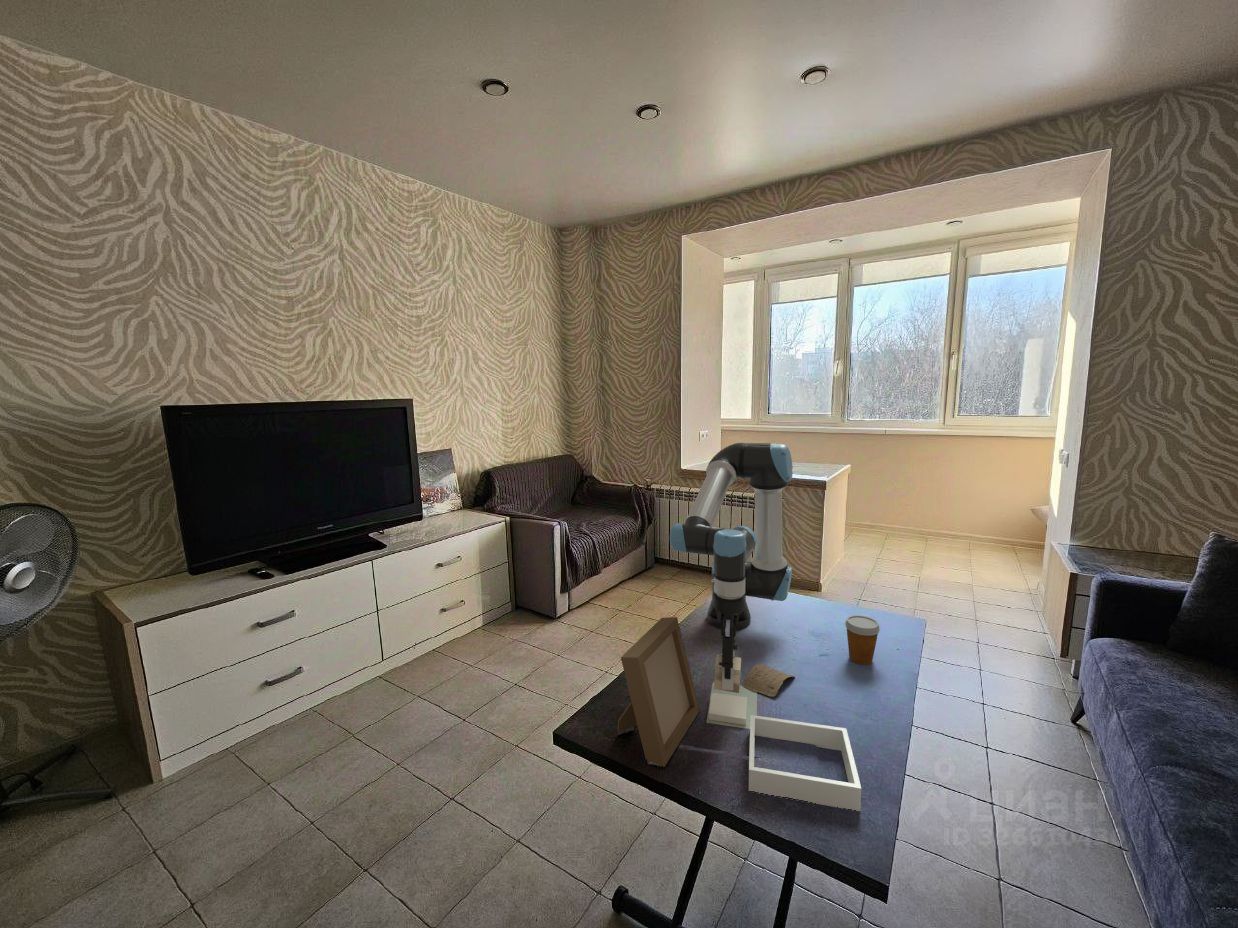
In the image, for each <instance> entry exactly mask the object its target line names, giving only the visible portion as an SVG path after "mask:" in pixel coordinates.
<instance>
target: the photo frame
mask: <svg viewBox="0 0 1238 928" xmlns="http://www.w3.org/2000/svg"><path fill="white" fill-rule="evenodd" d="M620 660H621V665H622V668H623V673H624V676H625V677H624V678H625V680H626V684H627V689H628V693H629V697H630V700H631V701H630V702H629V704H628V705H627V707H626V708H625V710H623V713H622V714H621V715H620V717H619V718H618V720H617V731H618V732H619V731H622V730H626V729H628V728H631V727H634V726H636V727H637V729H638V733H639V737H640V741H641V745H642V749H643V753H644V757H645V760H646V759H647V760H649V761H651V762H654V763H656V764H659V765H660V766H659V767H662V766H663V767H662V768H665V767H666V765H667V764H668V762H669V760H670V759H671V757H672V756H673V755H674V753H675V751H676V749H677V748H678V746H679V745H680V743H681V742H682V740H683V738H684V736H685V735H686V733H687V732H688V730H689V729H690V727H691V725H692V724H693V723H694V720H695V719H696V718H697V716H698V714H699V713H700V706H699V702H698V698H697V694H696V691H695V686H694V681H693V678H692V673H691V669H690V665H689V660H688V657H687V652H686V649H685V644H684V641H683V637H682V632H681V629H680V624H679V620H678V617H677V616H672V617H671V616H670V617H667V616H666V617H661V618H660V619H659V620H657V622H656V623H654V625H653V626H652V627H650V628H649V629H648V630H647V632H645V633H644V634H643V635H642V636H641V637H640V638H639V639H638V640H637V641H636V642H635V643H634V644H633V645H632V646H630V648H629V649H628V650H627V651H626V652H624V654H622V656H620Z"/></svg>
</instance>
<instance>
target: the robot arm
mask: <svg viewBox="0 0 1238 928" xmlns="http://www.w3.org/2000/svg"><path fill="white" fill-rule="evenodd" d="M792 459H793V458H792V455H791V451H790V448H789V446H787V445H786V444H784V443H783V444H782V443H774V442H772V443H771V442H761V443H760V442H736V443H732V444H730V445H728V446H725V447H724V448H722V449H721V450H719V452H717V453H716V454H715V455H714V456H713V457H712V458H711V459H710V460H709V462H708V464H707V467H706V471H705V473H706V477H705V479H704V481H703V483H702V485H701V487H700V489H699V491H698V494H697V496H696V498H695V500H694V501H693V505H692V507H691V509H690V511H689V512H688V514H687V516H686V519H685V521H684V523H682V522H681V523H675V524H673V525H672V527H671V529H670V532H669V544H670V546H671V548H672V550H674V551H678V552H682V553H691V554H699V555H707V556H713V561H712V566H711V567H712V569H711V580H710V582H711V584H712V585H711V595H712V596H711V600H710V603H709V607H708V609H707V613H706V616H707V617H706V620H707V622H708V623H709V624H710V625H712V626H713V627H716V628H719V629H720V635H721V639H722V640H721V655H722V662H719V665H722V689H725V690H732V691H733V673H734V664H733V657H736V650H738V645H737V644H736V645H735V643H736V635H737V634H736V631H737V630H741V629H745V628H747V627H749V626H750V624H751V619H752V617H751V616H752V615H751V612H750V610H749V607H748V603H747V599H746V598H747V597H751V598H759V599H764V600H770V601H779V602H783V601H786V600H787V598H788V596H789V591H790V587H791V580H792V575H793V568H792V567H791V566H790V565H789V566H788V560H787V559H786V557H784V556H783V490H784V489H785V488H787V487H788V482H792V479H793V475H794V474H793V460H792ZM737 479H742V480H749V481H748V483H749V487H750V488H751V489H753V490H754V531H753V530H752V529H751V528H750V527H748V526H745V525H739V526H736V527H734V528H727V527H719V526H718V527H717V526H714V524H715V521H716V520H717V516H718V514H719V511H720V509H721V507H722V504H723V502H724V499H725V497H726V495H727V492H728V490H729V487H730V486H731V485H732V484H733V483H734V482H735V481H736V480H737ZM754 551H755V555H754V556H753V557H751V560H750V561H748V560H747V559H748V558H749V557H750V555H752V554H753V553H754Z"/></svg>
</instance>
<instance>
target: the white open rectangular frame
mask: <svg viewBox="0 0 1238 928" xmlns="http://www.w3.org/2000/svg"><path fill="white" fill-rule="evenodd" d="M755 736H756V737H763V738H770V739H774V740H775V739H776V740H784V741H789V742H795V743H796V742H797V743H803V744H808V745H815V748H820V749H821V748H822V749H828V750H834V751H840V752H841V755H842V761H843V764H844V768H845V769H844V770H845V773H846V778H847V781H848V782H847V781H839V780H836V779H835V780H834V779H828V778H823V777H817V776H812V775H811V776H810V775H804V774H798V773H795V772H794V773H793V772H787V771H782V770H774V769H769V768H762V767H757V766H755ZM748 753H749V756H748V757H749V758H748V792H749V791H755V792H759V793H758V794H760V793H764V794H763V795H765V794H768V795H767V796H771V795H774V796H773V797H776V796H781V797H780V798H782V797H789V798H793V799H799V800H804V801H808V802H807V803H810V802H812V803H811V804H815V803H816V805H822V806H827V807H832V808H837V807H838V809H843V808H846V809H845V810H848V809H852V810H851V811H854V810H856V812H859V811H860V812H861V806H862V805H861V804H862V786H861V782H860V781H861V780H860V777H859V774H858V773H859V772H858V770H857V769H858V768H857V766H856V761H855V757H854V754H853V753H854V752H853V750H852V746H851V742H850V737H849V733H848V730H847V727H846V728H845V727H841V726H840V727H839V726H832V725H824V724H817V723H810V722H803V721H797V720H790V719H784V718H783V719H782V718H775V717H768V716H761V715H757V716H755V715H751V716H750V729H749V751H748ZM793 799H792V800H793ZM799 800H798V801H799ZM804 801H803V802H804Z"/></svg>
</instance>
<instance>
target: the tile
mask: <svg viewBox="0 0 1238 928" xmlns="http://www.w3.org/2000/svg"><path fill="white" fill-rule="evenodd" d="M710 696H711V695H710ZM709 703H710V702H709ZM708 709H709V708H708ZM746 718H747V697H741V696H734V695H726V694H719V693H712V696H711V703H710V709H709V720H715V721H722V722H729V723H736V724H743V725H746Z"/></svg>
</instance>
